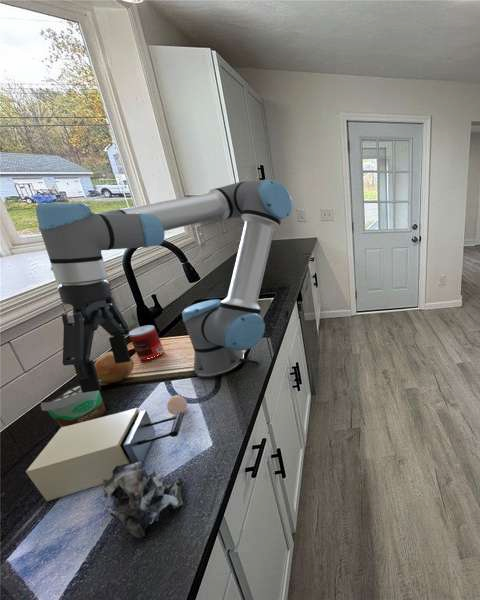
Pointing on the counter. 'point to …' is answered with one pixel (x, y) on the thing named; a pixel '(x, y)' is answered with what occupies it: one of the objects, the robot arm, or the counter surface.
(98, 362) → the onion
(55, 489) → the cream drawer box
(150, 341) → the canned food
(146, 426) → the grey drawer
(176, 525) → the counter surface
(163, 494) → the foil
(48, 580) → the counter surface
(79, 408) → the food container
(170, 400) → the egg
